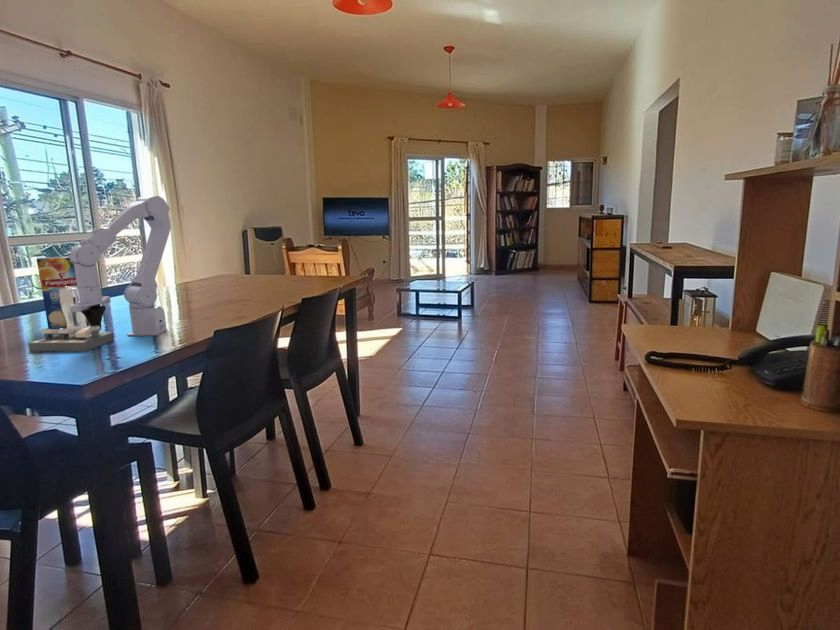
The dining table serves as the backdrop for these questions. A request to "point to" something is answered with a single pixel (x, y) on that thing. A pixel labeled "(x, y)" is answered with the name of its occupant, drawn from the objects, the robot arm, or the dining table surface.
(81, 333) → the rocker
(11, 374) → the dining table surface
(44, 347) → the switch unit
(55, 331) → the rocker
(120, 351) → the dining table surface
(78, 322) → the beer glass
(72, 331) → the rocker middle
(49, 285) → the juice carton
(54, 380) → the dining table surface
